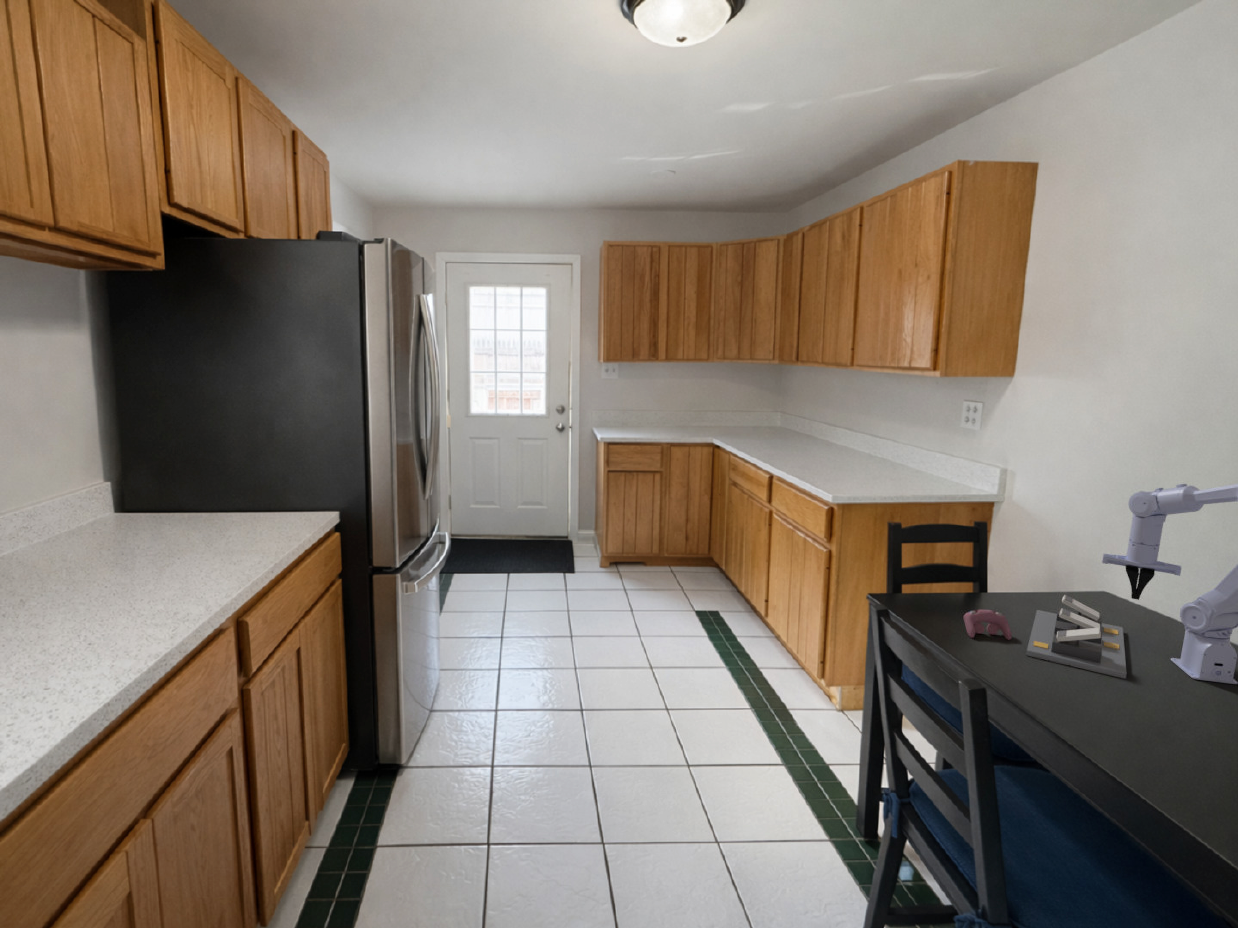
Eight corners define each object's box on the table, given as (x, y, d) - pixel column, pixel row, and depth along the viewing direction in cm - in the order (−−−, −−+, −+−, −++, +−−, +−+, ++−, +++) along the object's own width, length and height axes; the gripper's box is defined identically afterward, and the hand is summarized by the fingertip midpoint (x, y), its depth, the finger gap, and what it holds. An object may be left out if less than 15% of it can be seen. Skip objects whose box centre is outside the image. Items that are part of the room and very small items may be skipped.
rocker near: (1100, 632, 150) (1099, 627, 150) (1100, 638, 147) (1099, 633, 147) (1058, 635, 155) (1057, 630, 155) (1057, 641, 151) (1056, 636, 152)
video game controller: (1005, 641, 164) (1002, 611, 166) (1014, 640, 160) (1011, 609, 162) (962, 638, 165) (960, 609, 167) (970, 637, 160) (967, 607, 162)
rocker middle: (1098, 627, 159) (1100, 623, 158) (1098, 633, 155) (1100, 629, 155) (1059, 611, 163) (1061, 607, 162) (1059, 617, 159) (1061, 612, 159)
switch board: (1121, 632, 167) (1124, 613, 166) (1125, 678, 143) (1129, 657, 142) (1036, 614, 177) (1038, 597, 176) (1026, 655, 153) (1028, 635, 152)
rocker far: (1097, 616, 167) (1099, 612, 167) (1096, 621, 164) (1099, 617, 163) (1062, 597, 171) (1065, 594, 170) (1061, 602, 167) (1064, 598, 167)
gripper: (1182, 544, 158) (1172, 600, 160) (1106, 533, 166) (1097, 586, 168) (1185, 551, 152) (1175, 609, 154) (1106, 539, 160) (1097, 594, 162)
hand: (1135, 598), depth 161 cm, fingers closed
